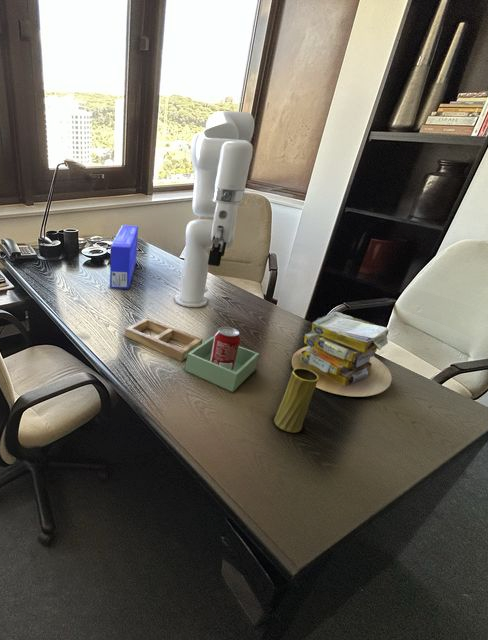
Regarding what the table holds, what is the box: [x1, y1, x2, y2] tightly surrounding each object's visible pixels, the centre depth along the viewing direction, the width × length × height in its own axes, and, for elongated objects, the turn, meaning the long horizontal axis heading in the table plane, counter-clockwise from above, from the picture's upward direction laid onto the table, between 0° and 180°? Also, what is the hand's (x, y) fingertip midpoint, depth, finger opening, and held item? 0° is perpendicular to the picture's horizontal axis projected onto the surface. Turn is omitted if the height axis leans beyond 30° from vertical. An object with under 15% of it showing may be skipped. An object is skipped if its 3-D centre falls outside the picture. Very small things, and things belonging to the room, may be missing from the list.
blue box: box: [109, 224, 139, 291], centre depth 170 cm, size 39×8×18 cm, turn 172°
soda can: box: [210, 326, 241, 370], centre depth 103 cm, size 7×7×12 cm
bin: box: [184, 335, 260, 393], centre depth 105 cm, size 15×15×6 cm
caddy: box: [124, 317, 204, 362], centre depth 119 cm, size 12×22×3 cm, turn 49°
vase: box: [273, 368, 319, 434], centre depth 84 cm, size 6×6×14 cm
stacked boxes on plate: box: [291, 311, 393, 398], centre depth 104 cm, size 25×25×17 cm
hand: (215, 260), depth 106 cm, fingers open, 9 cm apart
